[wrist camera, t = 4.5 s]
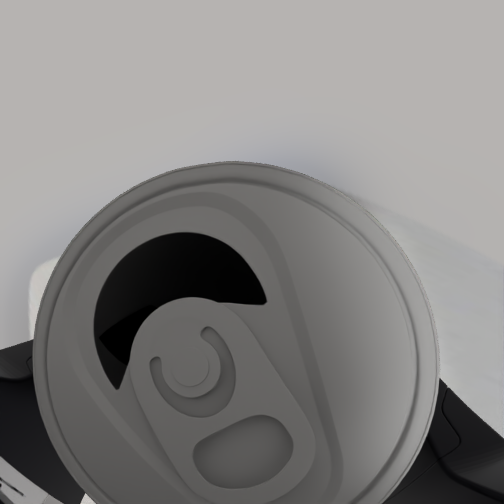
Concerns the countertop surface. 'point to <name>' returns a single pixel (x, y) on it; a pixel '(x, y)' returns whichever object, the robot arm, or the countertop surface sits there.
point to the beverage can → (237, 345)
